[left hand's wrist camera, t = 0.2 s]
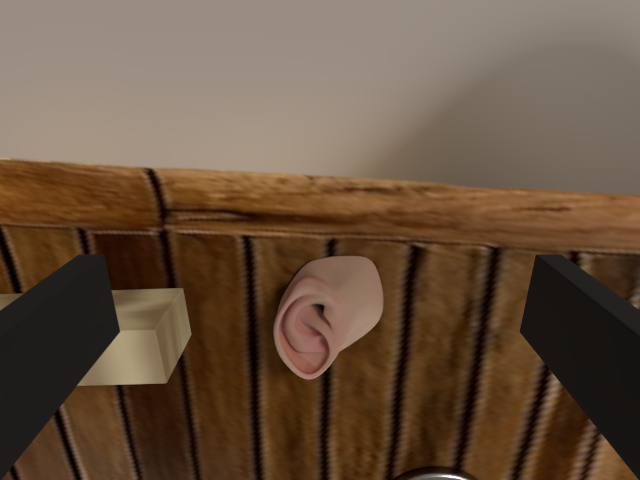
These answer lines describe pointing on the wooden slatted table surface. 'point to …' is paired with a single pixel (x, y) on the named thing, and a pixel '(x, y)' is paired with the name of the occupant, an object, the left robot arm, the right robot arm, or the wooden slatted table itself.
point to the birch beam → (140, 337)
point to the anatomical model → (326, 312)
